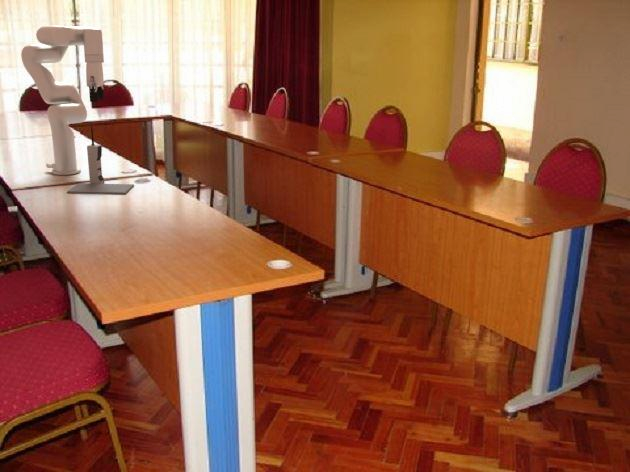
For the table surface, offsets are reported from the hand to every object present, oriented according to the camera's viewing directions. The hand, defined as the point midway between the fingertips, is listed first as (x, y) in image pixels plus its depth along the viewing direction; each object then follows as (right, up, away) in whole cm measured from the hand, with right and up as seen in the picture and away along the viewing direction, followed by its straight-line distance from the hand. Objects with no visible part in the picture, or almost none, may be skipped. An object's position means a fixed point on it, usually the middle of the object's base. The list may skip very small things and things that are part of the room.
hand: (97, 100), depth 285 cm
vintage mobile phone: (-3, -35, +10) cm, 36 cm away
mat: (+2, -38, -1) cm, 38 cm away
